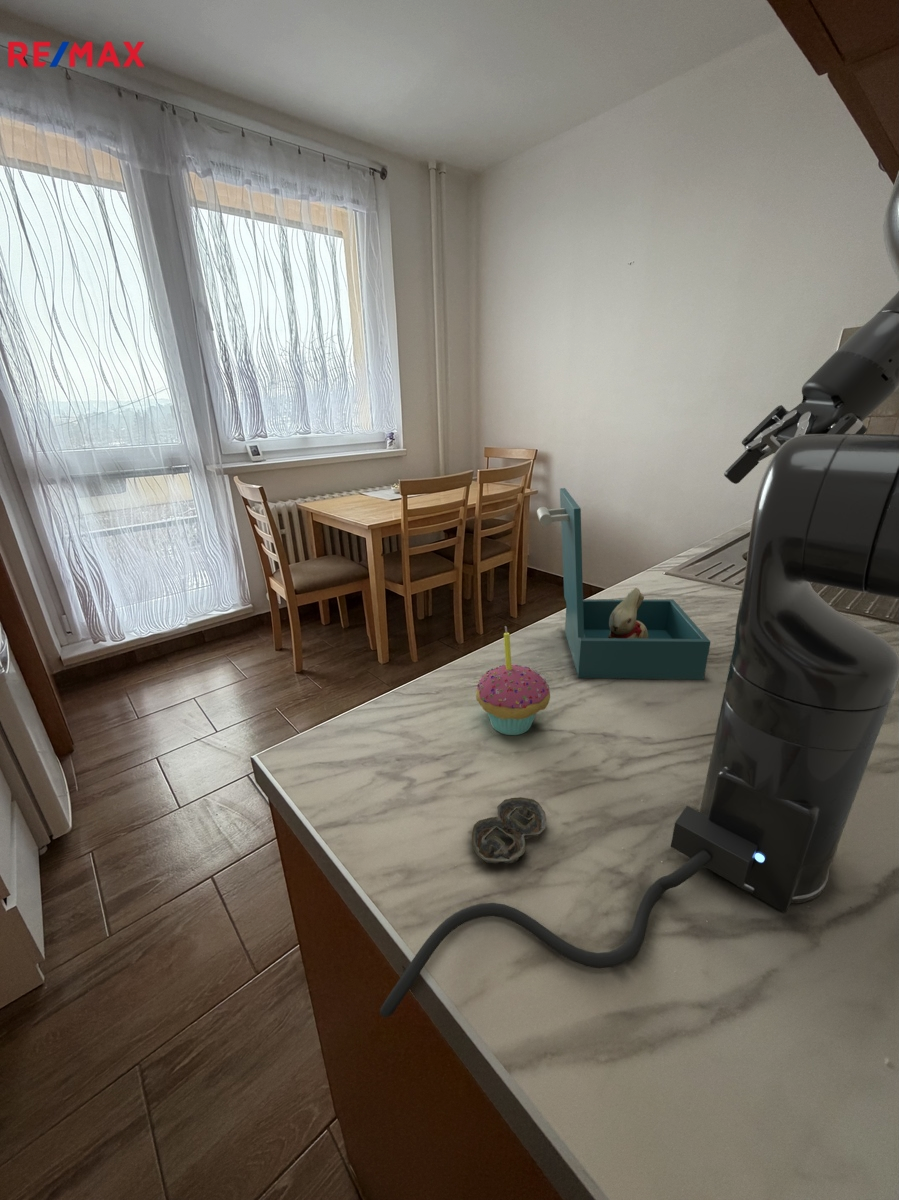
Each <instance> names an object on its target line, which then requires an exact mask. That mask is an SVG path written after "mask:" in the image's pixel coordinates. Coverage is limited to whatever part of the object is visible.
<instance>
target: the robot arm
mask: <svg viewBox="0 0 899 1200" xmlns="http://www.w3.org/2000/svg"><path fill="white" fill-rule="evenodd" d="M882 235H883V236H882V237H883V243H884V247H885V250H886V254H887V257H888V261H889V264H890V266H891V269H892V271H893V273H894V275H895V276H896V278H897V281H898V282H899V171H897V175H896V178H895V181H894V184H893V186H892V189H891V192H890V196H889V199H888V202H887V205H886V208H885V211H884V217H883V224H882ZM898 389H899V291H897V292H896V293H895V294H894V296H892V297H891V299H889V301H888V302H887V303H885V304H884V305H883V307H882V308H881V309H880V310H878V312H877V313H876V314H874V316H873V317H872V318H871V319H869V320H868V321H867V322H866V323H864V325H862V326H861V327H859V328H858V329H857V330H856V331H855V332H854V333H853V334H852V335H851V336H849V338H848V339H847V340H846V341H845V342H844V343H843V344H842V345H841V346H840V347H838V349H837V350H836V351H835V352H833V354H832V355H831V356H830V357H829V358H828V359H827V360H826V361H825V362H824V363H823V364H822V365H821V366H820V367H819V368H818V369H817V370H816V371H815V372H814V373H813V374H812V375H811V376H810V377H809V378H808V380H806V381H805V382H804V384H803V385H802V387H801V394H802V400H801V402H800V403H799V404H797V405H796V406H795V407H793V408H792V409H791V410H787V409H786V408H785V407H784V406H783V405H782V404H781V405H778V406H776V407H775V408H774V409H773V410H772V411H771V412H770V413H769V414H768V415H767V416H766V417H765V418H764V419H763V420H762V421H761V422H759V423H758V424H757V425H756V426H755V427H754V428H753V429H752V431H750V432H749V434H748V435H746V436H745V437H744V438H743V439H742V440H741V445H742V446H744V450H745V451H744V452H743V453H742V454H741V455H740V456H739V457H738V458H737V459H736V460H735V461H734V462H733V463H732V464H731V465H730V466H728V468H727V469H726V470H725V471H724V473H723V476H724V477H725V478H726V479H728V481H729V482H731V483H732V484H734V485H737V484H740V483H741V482H742V480H744V478H745V477H746V476H747V475H748V474H749V473H751V471H752V470H754V469H755V468H756V466H758V464H759V463H760V461H762V460H764V459H766V458H768V457H770V456H772V457H771V459H770V460H769V462H768V463H767V466H766V468H765V471H764V473H763V474H762V477H761V480H760V483H759V487H758V490H757V493H756V498H755V501H754V507H753V512H752V518H751V524H750V531H749V540H748V547H747V555H746V563H745V571H744V577H743V584H742V591H741V597H740V602H739V606H738V612H737V617H736V623H735V633H734V634H735V635H734V643H733V649H732V655H731V659H730V664H729V667H728V673H727V678H726V681H725V682H726V683H725V688H724V691H723V695H722V701H721V705H720V711H719V715H718V720H717V726H716V730H715V735H714V739H713V745H712V749H711V754H710V759H709V764H708V768H707V773H706V778H705V783H704V788H703V793H702V798H701V805H700V808H699V810H697V809H694V808H693V807H690V806H689V805H686V806H685V807H684V809H683V810H682V812H681V813H680V814H679V816H678V818H677V819H676V820H675V822H674V826H673V832H672V837H671V843H670V847H671V848H672V849H674V850H676V851H677V852H678V853H681V854H682V855H684V856H686V857H687V858H689V860H688V861H686V862H685V863H684V864H682V865H681V866H680V867H678V868H677V869H675V870H674V871H673V872H671V873H669V874H667V875H664V876H661V877H659V878H658V879H657V880H656V881H654V882H653V883H652V885H651V886H649V888H648V889H647V891H646V892H645V893H644V895H643V897H642V899H641V901H640V903H639V906H638V908H637V911H636V915H635V917H634V921H633V925H632V929H631V931H630V934H629V936H628V938H627V940H626V941H625V942H624V943H623V945H621V946H620V947H618V948H617V949H613V950H610V951H605V952H604V951H603V952H594V951H588V950H584V949H582V948H579V947H577V946H575V945H573V944H571V943H570V942H567V941H565V939H564V938H563V939H562V938H561V937H560V936H559V935H557V934H555V933H554V932H552V930H549V929H548V928H547V927H546V926H544V925H542V923H540V922H539V921H537V920H535V919H534V918H532V917H531V916H530V915H528V914H526V913H525V912H523V911H521V910H519V909H517V908H515V907H513V906H510V905H507V904H505V903H499V902H486V903H485V902H484V903H478V904H475V905H474V904H473V905H470V906H467V907H465V908H462V909H461V910H458V911H456V912H454V913H453V914H451V915H450V916H449V917H447V918H446V919H445V920H444V921H442V923H441V924H439V925H438V926H437V928H435V929H434V931H432V932H431V934H430V935H429V936H428V938H427V939H426V940H425V942H424V943H423V944H422V945H421V947H420V949H419V950H418V952H416V954H415V956H414V957H413V958H412V960H411V961H410V963H409V964H408V966H407V968H406V969H405V970H404V972H403V974H402V975H401V977H400V978H399V980H398V981H397V983H396V984H395V985H394V986H393V988H392V990H391V991H390V992H389V994H388V995H387V997H386V999H385V1001H384V1002H383V1004H382V1005H381V1007H380V1009H379V1012H380V1013H379V1014H380V1015H381V1016H382V1017H383V1018H389V1017H390V1016H392V1015H393V1014H394V1013H395V1011H396V1010H397V1008H398V1007H399V1005H400V1004H401V1002H402V1001H403V1000H404V998H405V996H406V995H407V993H408V992H409V990H410V989H411V987H412V986H413V984H414V983H415V982H416V980H417V978H418V977H419V975H420V973H421V972H422V970H424V969H423V968H424V967H425V966H426V964H427V963H428V961H429V960H430V958H431V957H432V956H433V954H434V953H435V951H436V950H437V948H438V947H439V945H441V943H442V942H443V941H444V940H445V939H446V938H447V937H448V936H449V935H450V934H451V933H452V932H453V931H455V930H456V929H457V928H459V927H461V926H462V925H464V924H466V923H468V922H471V921H473V920H476V919H480V918H486V917H487V918H488V917H497V918H503V919H505V920H508V921H511V922H512V923H514V924H516V925H518V926H520V927H522V928H523V929H524V930H526V931H527V932H529V933H530V934H532V935H533V936H534V937H536V938H537V939H538V940H540V941H541V942H543V943H544V944H545V945H547V946H548V947H549V948H551V949H552V950H554V951H555V952H557V953H558V954H559V955H561V956H563V957H565V958H566V959H568V960H570V961H572V962H574V963H576V964H579V965H582V966H584V967H588V968H593V969H606V968H608V969H610V968H615V967H617V966H621V965H624V964H625V963H626V962H627V961H629V960H631V959H632V958H633V957H634V956H635V955H636V954H637V953H638V951H639V950H640V947H641V946H642V944H643V941H644V939H645V935H646V930H647V927H648V922H649V918H650V915H651V912H652V909H653V908H654V907H655V904H656V903H657V901H658V900H659V898H660V897H661V896H662V895H663V894H664V893H665V892H666V891H667V890H669V889H673V888H674V889H675V888H676V887H679V886H680V885H682V884H683V883H686V881H687V880H689V879H690V878H691V877H693V876H694V875H696V874H697V873H698V872H699V871H700V870H702V869H703V868H706V869H708V870H709V871H711V872H712V873H715V874H716V875H718V876H720V877H722V878H723V879H725V880H727V881H728V882H730V883H732V884H733V885H735V886H736V887H738V888H740V889H742V890H743V891H745V892H747V893H748V894H751V895H753V896H754V897H756V898H757V899H759V900H761V901H763V902H764V903H766V904H768V905H770V906H772V907H773V908H775V909H776V910H778V911H780V912H782V913H786V912H787V911H788V909H789V907H790V905H791V904H803V903H806V902H810V901H812V900H814V899H816V898H817V897H819V896H820V895H821V894H822V893H823V891H824V890H825V888H826V885H827V883H828V880H829V876H830V875H829V873H830V869H831V866H832V864H833V861H834V858H835V856H836V853H837V851H838V846H839V844H840V841H841V838H842V836H843V833H844V830H845V827H846V825H847V821H848V819H849V816H850V813H851V811H852V808H853V805H854V803H855V801H856V798H857V794H858V791H859V788H860V785H861V783H862V780H863V777H864V775H865V772H866V769H867V766H868V763H869V761H870V759H871V755H872V754H873V753H872V752H873V750H874V748H875V744H876V742H877V739H878V737H879V735H880V732H881V729H882V726H883V724H884V721H885V718H886V715H887V712H888V710H889V707H890V704H891V701H892V698H893V696H894V693H895V691H896V688H897V685H898V682H899V654H898V652H897V651H896V650H895V648H894V647H893V646H892V645H891V644H890V643H888V641H887V640H885V639H884V638H883V637H881V635H879V634H877V633H875V632H874V631H872V630H870V629H869V628H867V627H865V626H863V625H862V624H859V623H857V622H856V621H855V620H852V619H850V618H849V617H847V616H845V615H844V614H843V613H841V612H839V611H837V609H835V608H834V607H833V606H831V604H829V603H828V602H827V601H826V600H824V599H823V598H822V597H821V596H820V595H819V594H818V592H816V590H815V589H814V587H813V585H812V584H817V585H822V586H826V587H830V588H837V589H842V590H847V591H852V592H857V593H862V594H866V593H867V594H868V595H874V596H880V597H885V598H890V599H896V600H899V434H891V433H890V434H884V433H883V434H879V433H878V434H877V433H866V432H867V431H868V427H866V425H865V424H864V423H863V421H865V420H866V419H867V418H868V417H869V416H870V415H871V414H873V412H875V410H876V409H877V408H878V407H880V406H881V405H882V404H883V403H884V402H885V401H886V400H887V399H888V398H889V397H890V396H891V395H892V394H893V393H895V392H896V390H898ZM760 434H761V435H760ZM759 435H760V436H759Z"/></svg>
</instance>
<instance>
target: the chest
mask: <svg viewBox="0 0 899 1200" xmlns="http://www.w3.org/2000/svg"><path fill="white" fill-rule="evenodd" d="M624 599H625V598H624ZM624 599H617V598H615V599H607V598H606V599H599V598H598V599H593V598H592V599H584V598H583V618H584V637H580V638H578V636H577V633H576V630H575V627H574V624H573V621H572V618H571V615H570V612H569V609H568V606H567V603H566V602H565V603H566V606H565V619H564V620H565V622H564V634H565V638H566V641H567V644H568V648H569V650H570V655H571V658H572V662H573V665H574V669H575V672H576V675H577V678H578V679H625V680H627V679H629V680H630V679H631V680H636V679H637V680H692V681H693V680H696V681H697V680H698V681H700V680H701V681H702V680H705V673H706V669H707V664H708V658H709V654H710V653H709V652H710V647H711V640H710V639H709V638H708V637H707V636H706V634H705V633H704V632H703V631H702V630H701V629H700V628H699V627H698V625H697V624H696V623H695V622H694V621H693V620H692V619H691V618H690V616H689V615H688V614H687V613H686V612H685V611H684V609H683V608H682V607H681V606H680V605H679V604H678V603H677V602H676V601H675V600H674V599H673V598H672V599H670V598H669V599H668V598H667V599H666V598H664V599H663V598H661V599H660V598H659V599H658V598H657V599H656V598H655V599H651V598H650V599H646V598H644V599H643V601H642V603H641V605H640V607H639V608H638V610H637V617H636V620H637V621H640V622H642V623H643V624H644V625H645V627H646V628H647V632H648V638H649V639H632V638H608V636H609V635H610V627H609V618H610V615H611V613H612V612H613V610H614V609H615V608H616V607H617V605H618V604H620V603H621V602H622V601H623V600H624Z"/></svg>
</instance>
